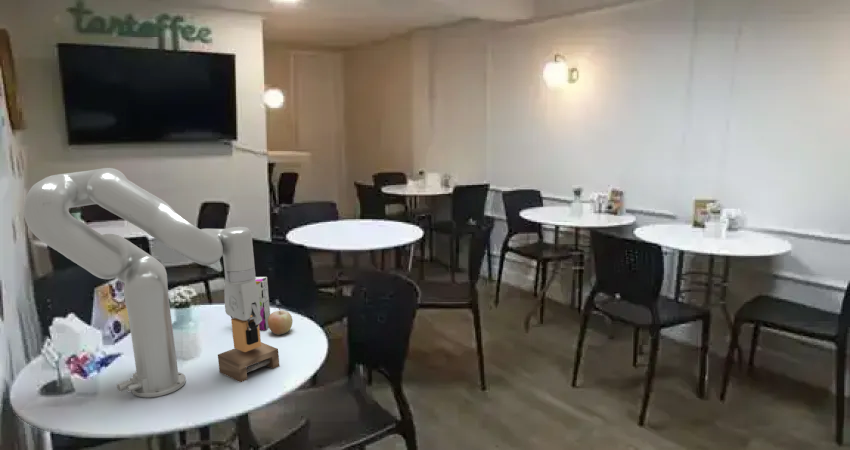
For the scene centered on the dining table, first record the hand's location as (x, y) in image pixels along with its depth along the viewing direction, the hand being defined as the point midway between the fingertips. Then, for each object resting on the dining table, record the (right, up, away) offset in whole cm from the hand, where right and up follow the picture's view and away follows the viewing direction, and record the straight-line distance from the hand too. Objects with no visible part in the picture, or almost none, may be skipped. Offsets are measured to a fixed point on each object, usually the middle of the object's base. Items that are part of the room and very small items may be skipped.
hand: (246, 340), depth 162 cm
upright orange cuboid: (0, -2, 0) cm, 2 cm away
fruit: (+3, -3, +27) cm, 27 cm away
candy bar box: (-7, -2, +32) cm, 33 cm away
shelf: (0, -8, +2) cm, 8 cm away
